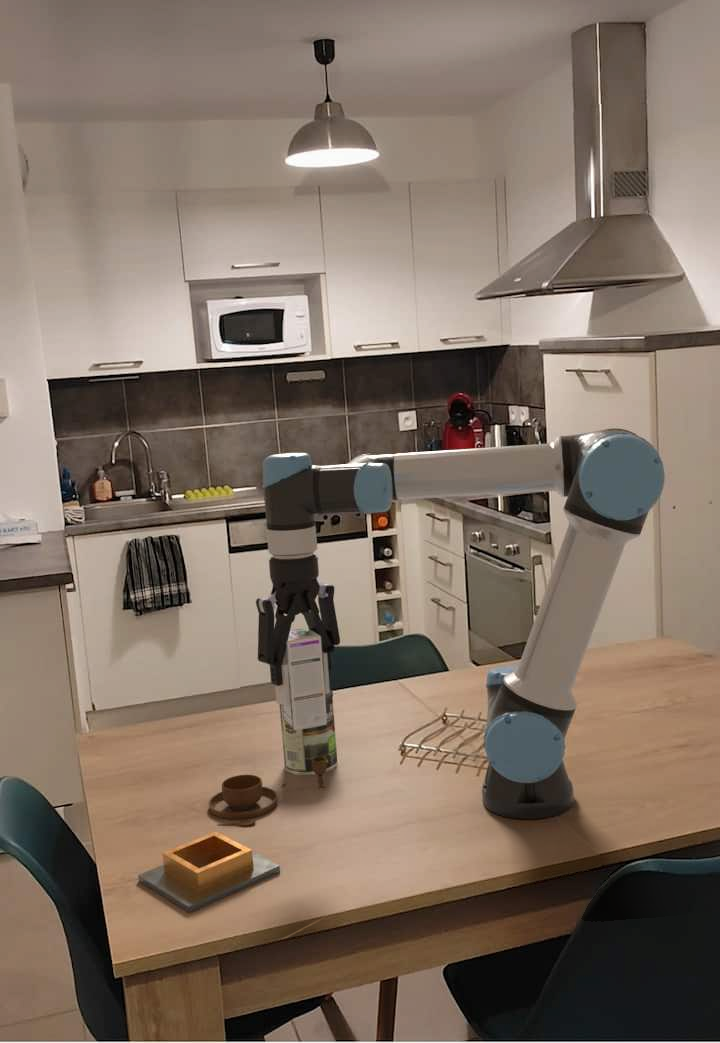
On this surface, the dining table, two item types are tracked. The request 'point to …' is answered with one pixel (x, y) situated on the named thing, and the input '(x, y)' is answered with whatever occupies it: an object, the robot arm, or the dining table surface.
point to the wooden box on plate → (206, 871)
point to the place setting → (252, 794)
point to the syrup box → (305, 680)
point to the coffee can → (310, 743)
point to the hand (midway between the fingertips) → (303, 697)
